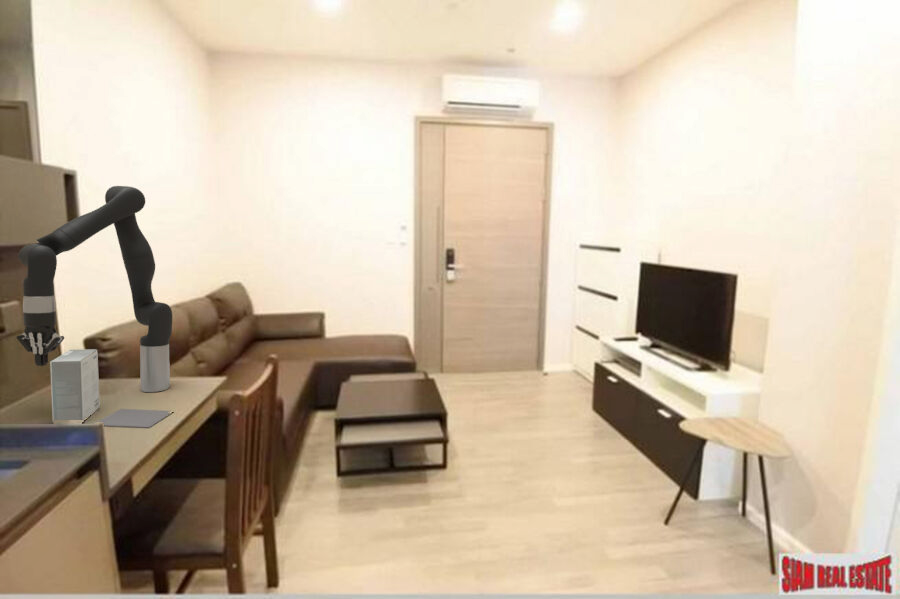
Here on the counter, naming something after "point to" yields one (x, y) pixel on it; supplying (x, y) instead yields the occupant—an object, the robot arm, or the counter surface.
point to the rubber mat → (134, 418)
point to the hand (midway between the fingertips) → (41, 365)
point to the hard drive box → (75, 385)
